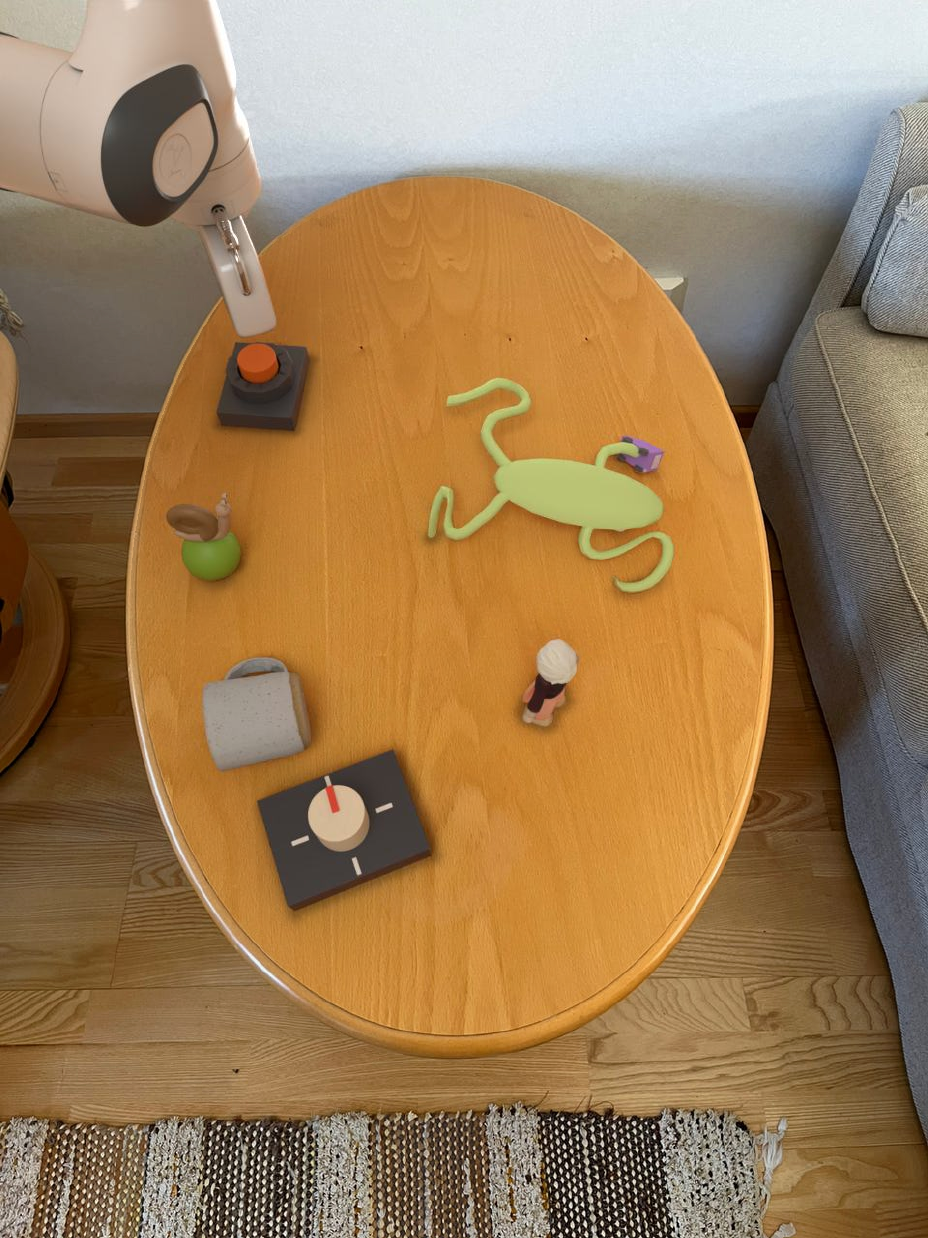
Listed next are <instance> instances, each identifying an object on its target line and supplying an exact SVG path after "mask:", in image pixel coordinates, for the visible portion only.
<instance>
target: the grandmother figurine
mask: <svg viewBox="0 0 928 1238" xmlns="http://www.w3.org/2000/svg"><path fill="white" fill-rule="evenodd" d="M535 661H536V671H537V672H538V673H537V675H536V677H535V680H533V681H532V683H530V685H529V686H528V687H527V689H526V690H525V692H524V694H523V696H522V699H521V700H522V702H523V703H527V704H526V705H525V707H524V709H523V714H522V717H521V719H522V721H523V722H524V723H526V724H535V725H537V726H540V727H543V728H546V727H547V728H548V727H549V726H550V725H551V724H552V722H553V720H554V714H553V712H554V709H556V708H557V709H558V708H561V707H562V706H563V705H564V704H565V702H566V696H565V692H566V691H565V690H566V686H567V683H569V682H571V681H572V679H573V678H574V677H575V675H576V674H577V672H578V664H579V662H580V656H579V654H578V653H577V652H576V651H575V650H574V649H573V648H572V647H571V646H570V645H569V644H568V642H566V641H564V640H563V639H559V638H555V639H551V640H549V641H548V642H547V643H546V644H545V645H543V646H542V647H541V648H540V649H539V651H538V653H537V654H536V658H535Z"/></svg>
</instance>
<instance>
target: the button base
mask: <svg viewBox="0 0 928 1238" xmlns="http://www.w3.org/2000/svg"><path fill="white" fill-rule="evenodd" d="M251 344H265V345H267V346H269V347H271V348H272V349H273V350H274V352H275V355H276V359H277V363H278V372H277V374H276V376H275V377H274V378H273V379H271V380H270V381H267V382H264V383H259V384H258V383H251V382H249V381H247V380H245V379H244V378H243V376H242V375H241V372H240V369H239V366H238V362H237V357H238V354H239V352H240V351H241V350H242V349H243V348H245V347H246V346H248V345H251ZM232 349H233V350H232V353H231V355H230V356H229V357H228V360H227V363H226V367H225V379H224V383H223V387H222V390H221V394H220V398H219V400H218V401H219V402H218V405H217V408H216V415H217V417H218V420H219V423H220V426H223V427H235V428H236V427H237V428H252V429H264V430H265V429H266V430H279V431H292V432H295V430H296V426H297V421H298V417H299V413H300V407H301V403H302V399H303V393H304V389H305V384H306V379H307V375H308V370H309V365H310V357H309V352H308V347H307V346H299V345H287V344H276V343H274V342H261V341H256V342H245V341H244V342H241V341H235V342H234V346H233V348H232Z"/></svg>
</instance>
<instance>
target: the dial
mask: <svg viewBox="0 0 928 1238" xmlns="http://www.w3.org/2000/svg"><path fill="white" fill-rule="evenodd" d="M308 820H309V824H310V827H311V829H312V830H313V832H314V833H315V834H316V836H317V837H318V839H319V840H320V841H321V843H322V844H323V845H324V846H325V847H327V848H329V849H331V850H334V851H339V852H342V851H348V850H351V849H353V848H355V847H357V846H358V845H359V844H360V843H361V842H362V841H363V840H364V839H365V837H366V835H367V833H368V830H369V816H368V813H367V810H366V808H365V805H364V803H363V800H362V799H361V797H360V796H359V794H358V793H357V792H356V791H354V790H353V789H351V788H349V787H346V786H342V785H335V786H332V785H331V786H328V787H325V789H323V790H322V791H320V792H319V793H318V794H317V795H316V796H315V797H314V799H313V800H312V802H311V804H310V807H309V811H308Z"/></svg>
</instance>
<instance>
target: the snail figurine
mask: <svg viewBox="0 0 928 1238" xmlns="http://www.w3.org/2000/svg"><path fill="white" fill-rule="evenodd" d="M220 498H221V499H220V501H219V502H217V504H215V506H214V512H215V514H216V515H217V517H216V515H215V514H214V513H213V512H212V511H210V510H209V509H207V508H205V507H203V506H200V505H197V504H191V503H178V504H175V505H173V506H171V507H169V509H168V510H167V513H166V515H165V519H166V521H167V523H168V525H169V526H170V527H171V528H173V529H174V530H173V534H174V535H175V536H176V537H178V538H180V539H183V541H182V544H181V550H180V552H181V553H180V554H181V559H182V562H183V564H184V566H185V568H186V570H187V571H188V572H189V573H190V574H192V576H194V577H196V578H198V579H200V580H203V581H208V582H214V581H220V580H224V579H226V578H227V577H229V576H231V574H233V572H235V570H236V569H237V567H238V566H239V564H240V560H241V554H242V553H241V545H240V542H239V541H238V538H237V537H236V535H234V533H233V532H232V531H231V527H232V515H231V514H232V506H231V505H230V504H229V503H228V500H227V499H228V494H227V493H225V492H223V493H221V495H220Z"/></svg>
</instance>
